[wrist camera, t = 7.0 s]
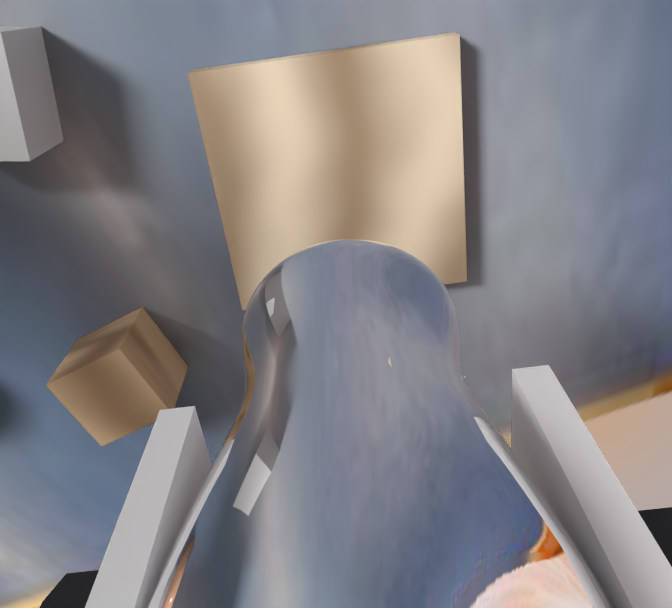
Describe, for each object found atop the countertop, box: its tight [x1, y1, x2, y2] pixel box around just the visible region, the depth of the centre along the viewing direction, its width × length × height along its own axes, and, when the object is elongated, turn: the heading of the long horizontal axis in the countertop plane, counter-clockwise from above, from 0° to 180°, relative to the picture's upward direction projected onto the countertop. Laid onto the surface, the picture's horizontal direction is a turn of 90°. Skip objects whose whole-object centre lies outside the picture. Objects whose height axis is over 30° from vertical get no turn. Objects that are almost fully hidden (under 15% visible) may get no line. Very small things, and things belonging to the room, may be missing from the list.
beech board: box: [188, 33, 467, 310], centre depth 30 cm, size 12×12×1 cm
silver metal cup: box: [147, 239, 613, 608], centre depth 10 cm, size 7×7×15 cm
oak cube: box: [46, 307, 188, 446], centre depth 33 cm, size 4×4×4 cm
